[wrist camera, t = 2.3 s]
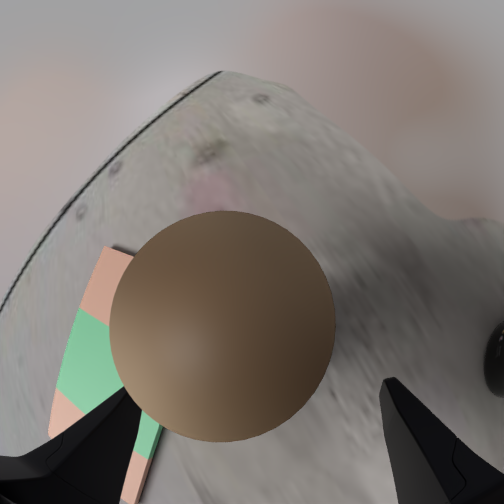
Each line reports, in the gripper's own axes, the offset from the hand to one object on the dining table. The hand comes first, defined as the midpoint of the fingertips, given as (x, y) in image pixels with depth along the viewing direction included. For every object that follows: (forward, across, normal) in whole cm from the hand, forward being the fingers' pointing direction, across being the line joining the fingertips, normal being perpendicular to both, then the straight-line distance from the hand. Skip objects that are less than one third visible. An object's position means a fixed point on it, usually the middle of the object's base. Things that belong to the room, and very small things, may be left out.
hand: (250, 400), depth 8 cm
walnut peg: (+8, 0, +6) cm, 10 cm away
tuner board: (+6, +14, +8) cm, 17 cm away
